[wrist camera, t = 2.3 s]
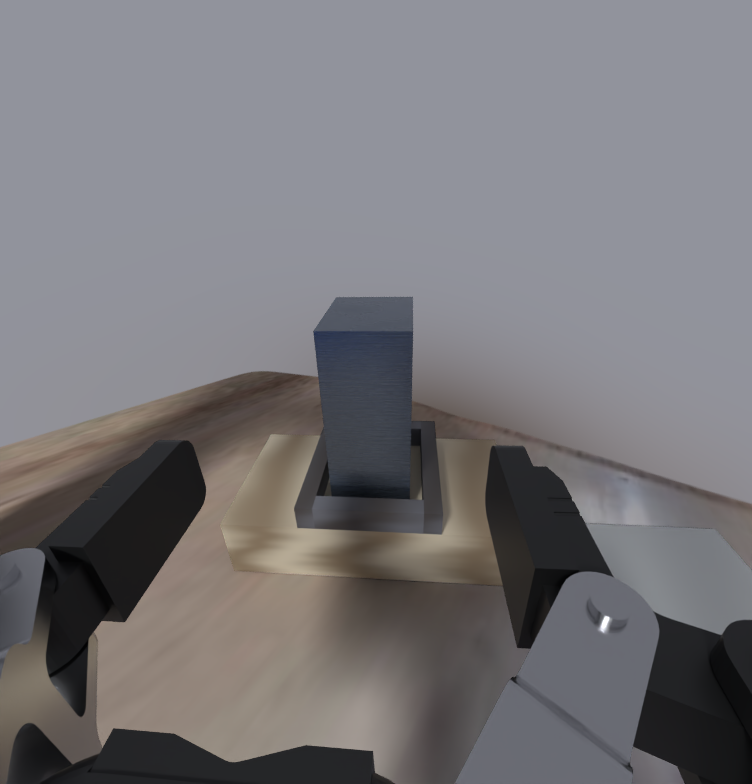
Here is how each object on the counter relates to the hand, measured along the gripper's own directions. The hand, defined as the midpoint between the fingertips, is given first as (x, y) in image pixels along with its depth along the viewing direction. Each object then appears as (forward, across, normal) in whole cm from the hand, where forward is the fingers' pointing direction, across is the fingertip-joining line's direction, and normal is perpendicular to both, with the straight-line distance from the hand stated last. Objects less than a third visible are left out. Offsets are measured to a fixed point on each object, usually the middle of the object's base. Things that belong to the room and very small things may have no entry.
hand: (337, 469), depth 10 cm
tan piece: (+12, 0, +14) cm, 18 cm away
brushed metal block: (+12, 0, +10) cm, 15 cm away
